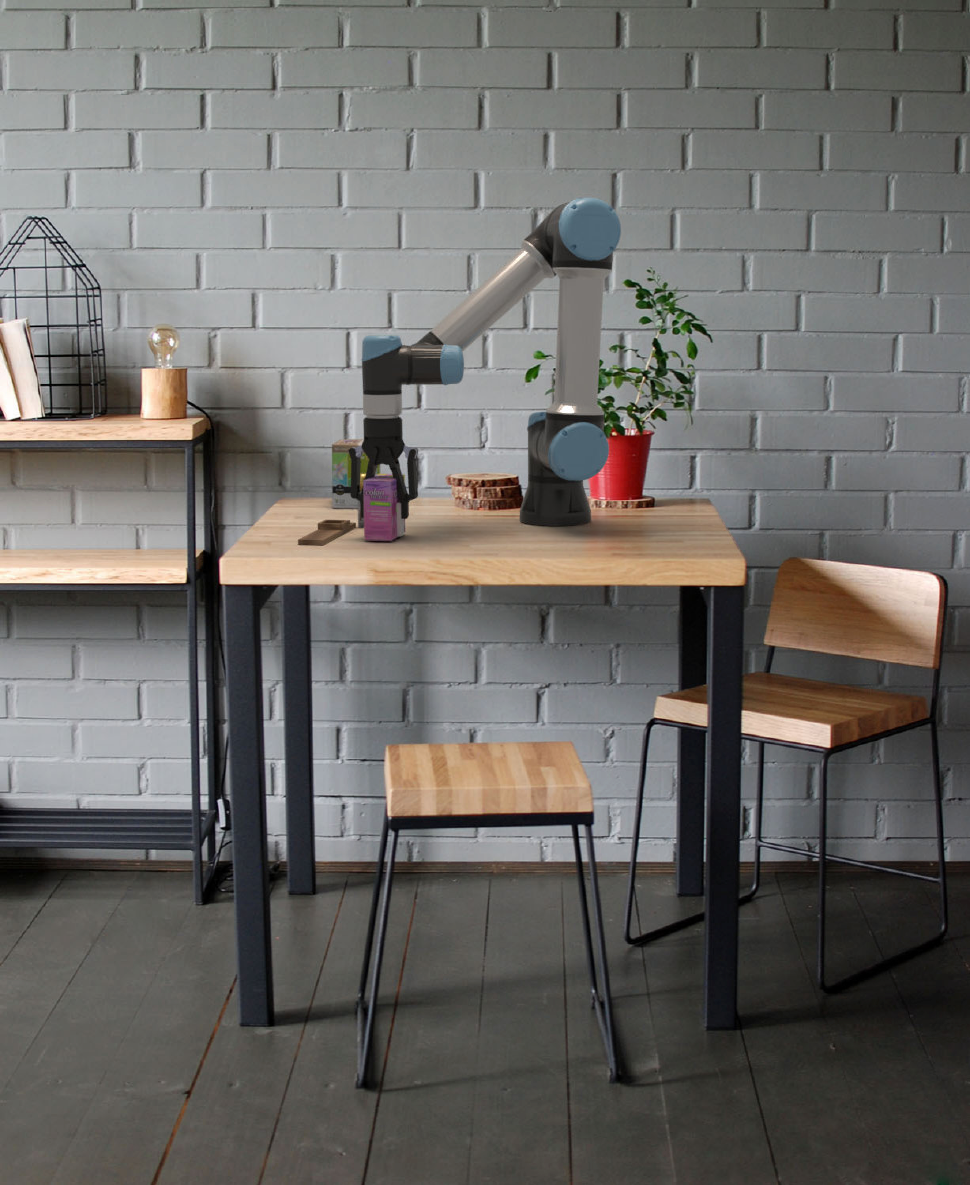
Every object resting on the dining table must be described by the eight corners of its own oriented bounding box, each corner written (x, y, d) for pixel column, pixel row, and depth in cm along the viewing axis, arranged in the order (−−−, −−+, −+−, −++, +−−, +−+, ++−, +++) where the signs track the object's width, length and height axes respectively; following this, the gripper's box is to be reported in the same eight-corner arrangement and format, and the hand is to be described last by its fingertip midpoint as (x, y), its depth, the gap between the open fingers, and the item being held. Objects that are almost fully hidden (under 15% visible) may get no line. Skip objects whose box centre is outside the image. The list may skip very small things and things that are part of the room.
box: (392, 541, 255) (390, 480, 253) (363, 540, 256) (362, 479, 254) (406, 532, 265) (405, 473, 262) (378, 532, 266) (377, 473, 264)
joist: (356, 527, 274) (356, 516, 273) (323, 545, 253) (323, 534, 252) (332, 526, 275) (332, 516, 274) (297, 544, 254) (297, 533, 253)
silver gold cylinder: (373, 525, 276) (372, 473, 274) (369, 528, 273) (368, 475, 271) (359, 525, 276) (358, 473, 274) (355, 527, 273) (353, 474, 271)
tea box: (375, 509, 300) (374, 443, 297) (331, 509, 300) (329, 444, 297) (381, 500, 315) (380, 437, 312) (339, 500, 315) (337, 438, 312)
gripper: (434, 415, 258) (435, 533, 262) (342, 414, 261) (345, 530, 266) (425, 418, 250) (426, 539, 255) (330, 417, 254) (333, 536, 259)
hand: (385, 534), depth 260 cm, fingers closed on box, 6 cm apart
